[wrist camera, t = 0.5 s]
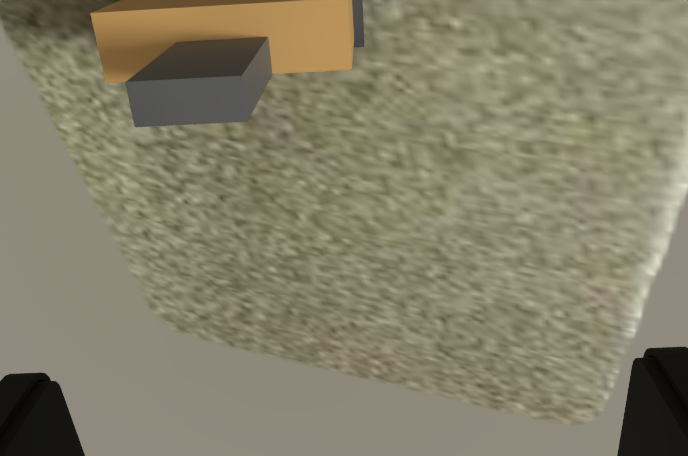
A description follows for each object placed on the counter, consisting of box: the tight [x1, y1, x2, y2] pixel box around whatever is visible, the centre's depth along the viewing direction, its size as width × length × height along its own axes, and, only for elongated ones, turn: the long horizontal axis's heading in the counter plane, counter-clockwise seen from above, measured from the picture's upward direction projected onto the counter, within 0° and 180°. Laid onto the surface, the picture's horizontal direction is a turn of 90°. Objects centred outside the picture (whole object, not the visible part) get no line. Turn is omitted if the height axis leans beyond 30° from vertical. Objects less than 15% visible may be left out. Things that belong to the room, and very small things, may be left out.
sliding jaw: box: [90, 0, 354, 127], centre depth 28 cm, size 3×11×14 cm, turn 93°
